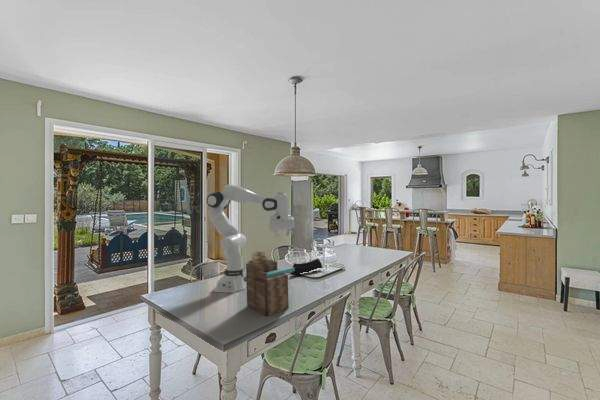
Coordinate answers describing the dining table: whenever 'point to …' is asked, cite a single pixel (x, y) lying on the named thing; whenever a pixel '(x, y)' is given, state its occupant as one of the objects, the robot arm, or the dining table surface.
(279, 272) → the slat
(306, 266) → the magazine
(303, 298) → the dining table surface
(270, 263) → the rack
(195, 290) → the dining table surface
